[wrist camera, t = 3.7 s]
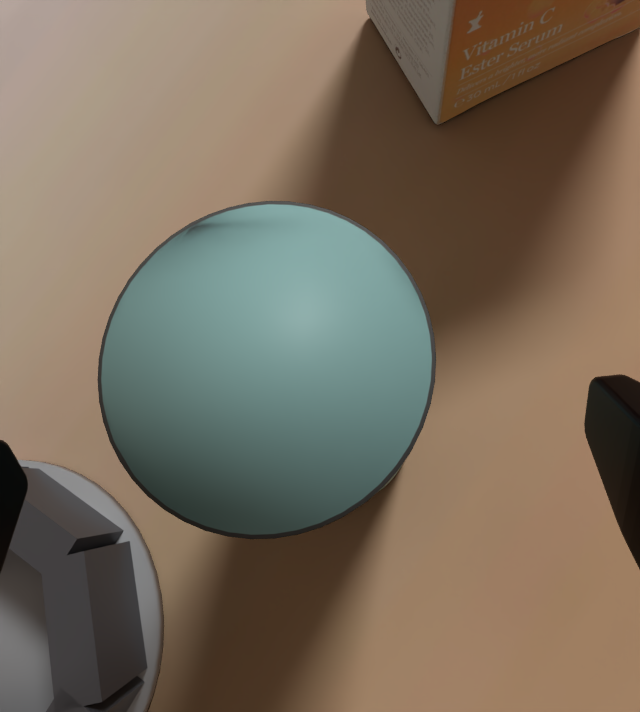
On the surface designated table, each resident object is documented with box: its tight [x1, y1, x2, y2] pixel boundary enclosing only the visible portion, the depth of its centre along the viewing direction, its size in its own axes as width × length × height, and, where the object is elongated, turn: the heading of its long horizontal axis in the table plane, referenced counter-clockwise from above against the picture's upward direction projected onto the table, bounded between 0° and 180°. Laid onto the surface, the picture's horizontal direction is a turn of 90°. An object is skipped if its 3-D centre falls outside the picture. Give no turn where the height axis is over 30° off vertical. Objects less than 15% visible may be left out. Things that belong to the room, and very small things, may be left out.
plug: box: [98, 201, 436, 539], centre depth 12 cm, size 4×4×10 cm
